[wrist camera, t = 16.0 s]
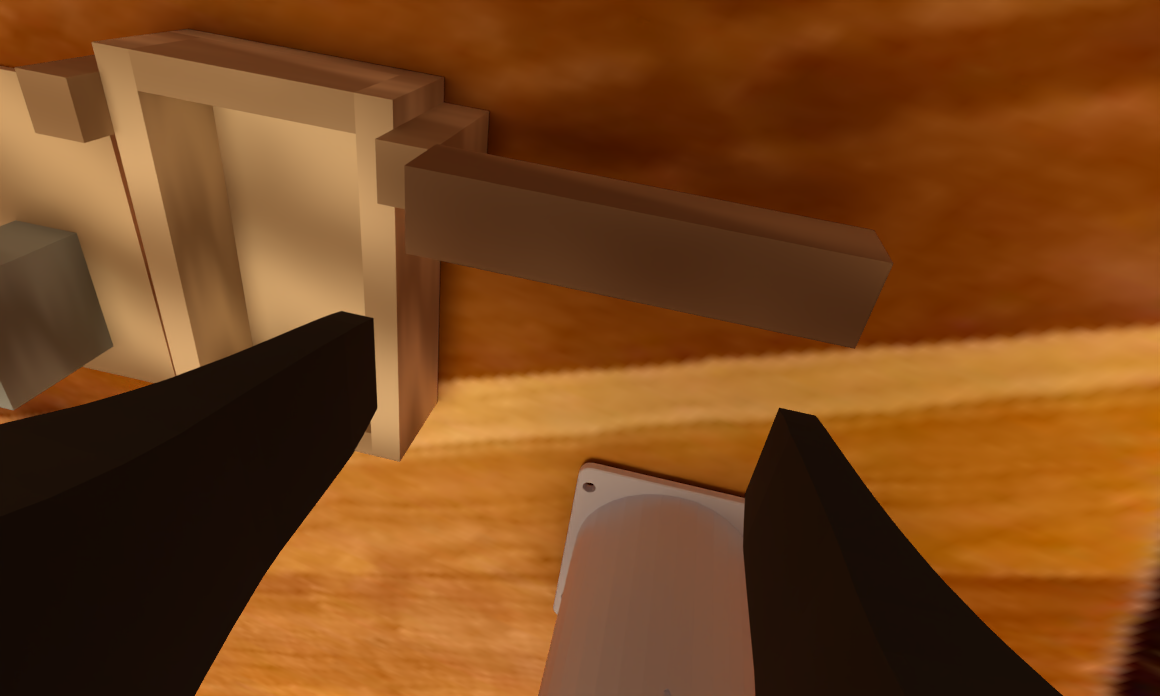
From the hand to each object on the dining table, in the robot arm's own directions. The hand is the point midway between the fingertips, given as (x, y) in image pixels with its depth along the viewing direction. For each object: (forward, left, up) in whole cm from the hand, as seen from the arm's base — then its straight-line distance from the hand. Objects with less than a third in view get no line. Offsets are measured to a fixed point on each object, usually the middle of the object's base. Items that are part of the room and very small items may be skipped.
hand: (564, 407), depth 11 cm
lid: (-5, +21, -10) cm, 24 cm away
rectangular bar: (+1, -1, -5) cm, 6 cm away
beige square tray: (-3, +10, -10) cm, 14 cm away
